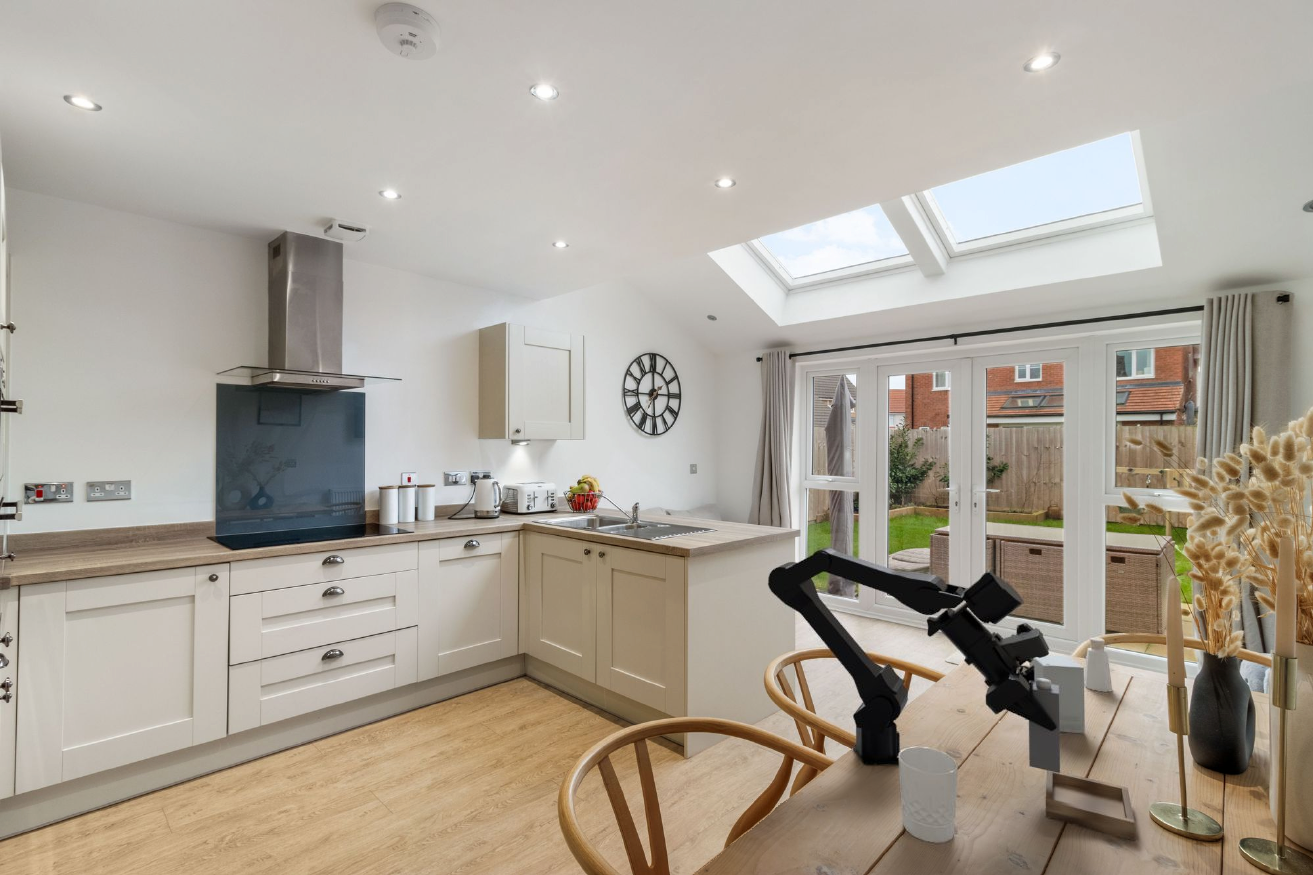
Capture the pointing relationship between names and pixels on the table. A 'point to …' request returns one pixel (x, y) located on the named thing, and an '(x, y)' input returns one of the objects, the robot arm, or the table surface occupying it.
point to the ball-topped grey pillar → (1041, 739)
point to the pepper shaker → (1097, 667)
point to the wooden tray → (1089, 804)
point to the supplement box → (1065, 689)
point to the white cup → (928, 793)
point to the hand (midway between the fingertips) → (1054, 723)
